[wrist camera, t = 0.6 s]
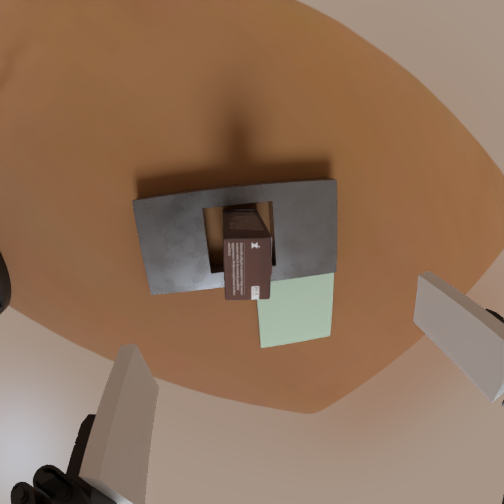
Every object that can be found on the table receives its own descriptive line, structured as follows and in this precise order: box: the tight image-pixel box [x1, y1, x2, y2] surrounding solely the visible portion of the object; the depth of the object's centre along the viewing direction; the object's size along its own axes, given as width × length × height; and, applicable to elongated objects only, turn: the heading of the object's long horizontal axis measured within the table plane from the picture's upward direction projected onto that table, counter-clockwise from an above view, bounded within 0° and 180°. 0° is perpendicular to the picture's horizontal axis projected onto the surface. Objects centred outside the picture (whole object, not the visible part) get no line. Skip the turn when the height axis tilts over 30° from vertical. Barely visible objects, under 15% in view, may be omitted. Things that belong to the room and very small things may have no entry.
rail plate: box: [132, 178, 337, 295], centre depth 34 cm, size 24×12×2 cm, turn 95°
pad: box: [257, 272, 334, 348], centre depth 40 cm, size 11×11×1 cm
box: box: [223, 209, 272, 300], centre depth 30 cm, size 6×4×12 cm
